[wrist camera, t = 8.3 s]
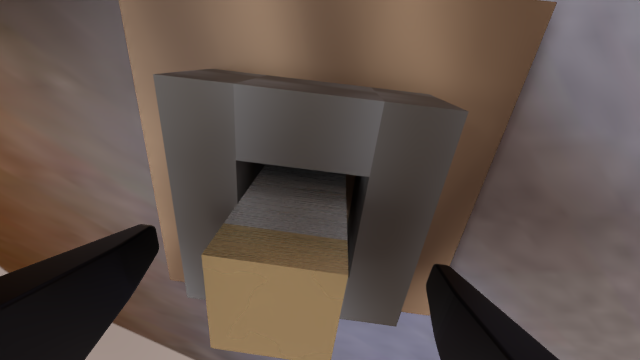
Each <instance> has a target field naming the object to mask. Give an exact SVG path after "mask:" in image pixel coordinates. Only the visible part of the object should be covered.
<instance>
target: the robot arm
mask: <svg viewBox="0 0 640 360" xmlns="http://www.w3.org/2000/svg"><path fill="white" fill-rule="evenodd" d="M158 250H159V243H158V238H157V233H156V229H155V227H154V226H152V225H145V224H139V225H136V226H134V227H131V228H128V229H126V230H123V231H120V232H118V233H115V234H112V235H110V236H107V237H104V238H102V239H99V240H96V241H94V242H91V243H88V244H86V245H83V246H80V247H78V248H75V249H72V250H70V251H67V252H64V253H62V254H59V255H56V256H54V257H51V258H48V259H46V260H43V261H40V262H37V263H35V264H32V265H29V266H27V267H24V268H21V269H19V270H16V271H13V272H11V273H8V274H5V275H3V276H0V360H85V359H86V357H87V356H88V354H89V353H90V352H91V350H92V349H93V348H94V346H95V345H96V344H97V342H98V341H99V340H100V338H101V337H102V335H103V334H104V333H105V331H106V330H107V329H108V327H109V326H110V324H111V323H112V322H113V321H114V319H115V318H116V317H117V315H118V314H119V312H120V311H121V310H122V308H123V307H124V306H125V304H126V303H127V301H128V300H129V299H130V297H131V296H132V294H133V293H134V291H135V290H136V288H137V286H138V285H139V283H140V281H141V280H142V278H143V276H144V275H145V273H146V271H147V270H148V268H149V266H150V265H151V263H152V261H153V260H154V258H155V256H156V255H157V253H158ZM426 292H427V298H428V304H429V310H430V315H431V321H432V327H433V332H434V337H435V341H436V345H437V349H438V352H439V356H440V359H441V360H559V359H558V358H557V357H555V356H554V355H553V354H552V353H551V352H549V351H548V350H547V349H546V348H545V347H544V346H542V345H541V344H540V343H539V342H538V341H537V340H535V339H534V338H533V337H532V336H531V335H530V334H528V333H527V332H526V331H525V330H524V329H522V328H521V327H520V326H519V325H518V324H517V323H515V322H514V321H513V320H512V319H511V318H510V317H508V316H507V315H506V314H505V313H504V312H503V311H501V310H500V309H499V308H498V307H497V306H495V305H494V304H493V303H492V302H491V301H490V300H488V299H487V298H486V297H485V296H484V295H483V294H481V293H480V292H479V291H478V290H477V289H476V288H474V287H473V286H472V285H471V284H470V283H468V282H467V281H466V280H465V279H464V278H463V277H461V276H460V275H459V274H458V273H457V272H456V271H454V270H453V269H452V268H451V267H450V266H448V265H444V264H434V265H433V267H432V269H431V272H430V274H429V277H428V280H427V283H426Z"/></svg>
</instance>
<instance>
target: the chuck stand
mask: <svg viewBox="0 0 640 360" xmlns="http://www.w3.org/2000/svg"><path fill="white" fill-rule="evenodd" d="M556 4H557V2H550V1H541V0H119V5H120V10H121V16H122V21H123V26H124V32H125V37H126V43H127V48H128V53H129V59H130V64H131V70H132V75H133V80H134V86H135V91H136V97H137V102H138V108H139V113H140V118H141V124H142V129H143V135H144V140H145V145H146V151H147V156H148V162H149V167H150V172H151V178H152V183H153V189H154V194H155V199H156V205H157V210H158V216H159V221H160V227H161V232H162V237H163V243H164V248H165V254H166V259H167V264H168V270H169V275H170V280H175V281H182V282H185V286H186V292H187V297H188V298H195V299H202V300H206V295H205V285H204V275H203V266H202V256H201V255H202V253H203V252H204V250H205V249H206V248H207V246H208V245H209V243H210V242H211V241H212V239H213V238H214V236H215V235H216V233H217V232H218V231H219V229H220V228H221V226H222V225H223V224H224V222H225V221H226V219H227V218H228V217H229V215H230V214H231V212H232V211H233V210H234V208H235V207H236V205H237V204H238V202H239V201H240V200H241V198H242V197H243V195H244V194H245V193H246V191H247V190H248V188H249V187H250V186H251V184H252V183H253V181H254V180H255V179H256V177H257V176H258V174H259V173H260V171H261V170H262V169H263V167H264V166H265V164H269V165H277V166H285V167H293V168H301V169H309V170H317V171H325V172H333V173H341V174H346V209H347V245H348V279H347V284H346V289H345V294H344V299H343V303H342V308H341V313H340V318H339V319H346V320H353V321H361V322H368V323H375V324H382V325H389V326H396V325H397V322H398V319H399V316H400V313H401V312H407V313H414V314H422V315H430V310H429V304H428V298H427V292H426V283H427V280H428V277H429V274H430V272H431V269H432V267H433V265H434V264H444V265H448V266H450V264H451V261H452V259H453V256H454V254H455V251H456V249H457V246H458V244H459V242H460V239H461V237H462V234H463V232H464V229H465V227H466V224H467V222H468V219H469V217H470V215H471V212H472V210H473V207H474V205H475V202H476V200H477V197H478V195H479V192H480V190H481V188H482V185H483V183H484V180H485V178H486V175H487V173H488V170H489V168H490V165H491V163H492V161H493V158H494V156H495V153H496V151H497V148H498V146H499V143H500V141H501V139H502V136H503V134H504V131H505V129H506V126H507V124H508V121H509V119H510V116H511V114H512V112H513V109H514V107H515V104H516V102H517V99H518V97H519V94H520V92H521V89H522V87H523V85H524V82H525V80H526V77H527V75H528V72H529V70H530V67H531V65H532V62H533V60H534V58H535V55H536V53H537V50H538V48H539V45H540V43H541V40H542V38H543V35H544V33H545V31H546V28H547V26H548V23H549V21H550V18H551V16H552V13H553V11H554V8H555V6H556Z"/></svg>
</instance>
